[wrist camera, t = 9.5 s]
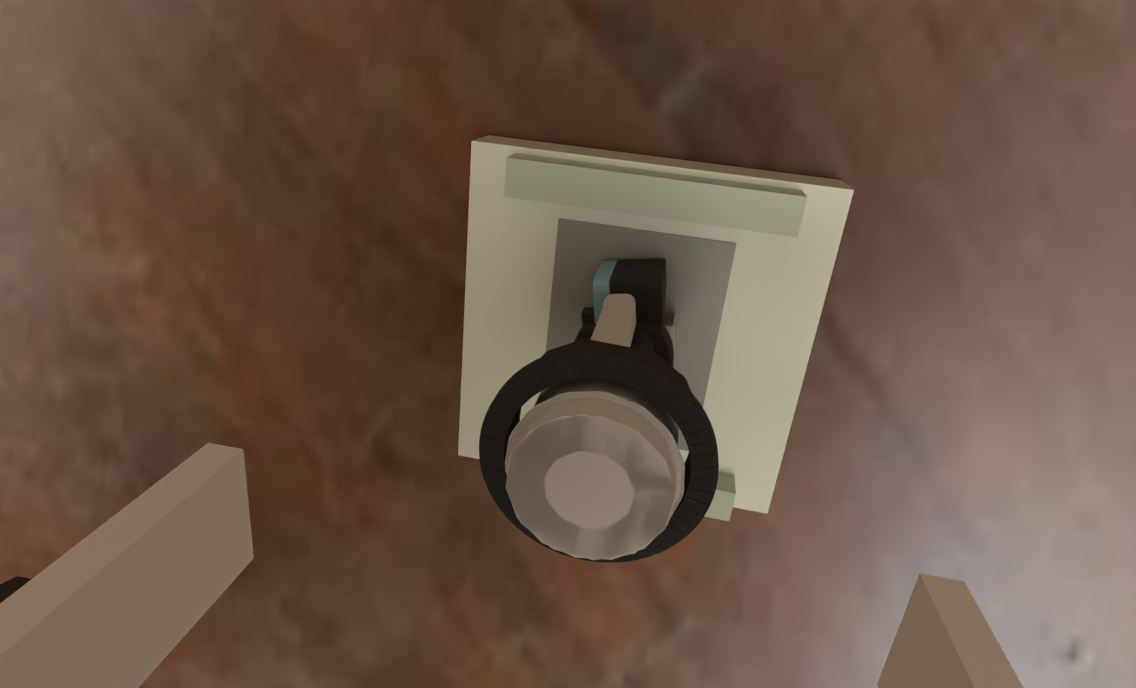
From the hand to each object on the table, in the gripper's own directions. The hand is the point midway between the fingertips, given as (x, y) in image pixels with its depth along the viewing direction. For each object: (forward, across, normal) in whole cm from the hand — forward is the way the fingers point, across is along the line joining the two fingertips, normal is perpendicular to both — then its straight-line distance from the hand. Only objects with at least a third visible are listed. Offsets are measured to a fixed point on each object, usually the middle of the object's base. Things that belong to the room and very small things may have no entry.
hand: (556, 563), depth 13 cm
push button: (+12, -1, 0) cm, 12 cm away
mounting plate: (+13, -1, 0) cm, 13 cm away
